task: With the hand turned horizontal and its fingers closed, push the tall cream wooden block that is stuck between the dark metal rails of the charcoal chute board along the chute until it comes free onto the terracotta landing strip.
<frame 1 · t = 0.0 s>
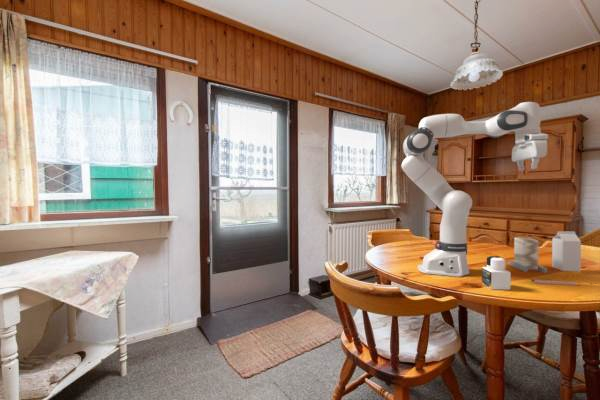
hand: (527, 169, 124), 48 cm above the table, tool pointing down, fingers open, 8 cm apart
chute: (535, 274, 125), on the table
block: (525, 253, 133), point 8 cm above the table, slide at 0.0 cm
milk carton: (565, 271, 130), on the table
medicine bottle: (495, 287, 110), on the table
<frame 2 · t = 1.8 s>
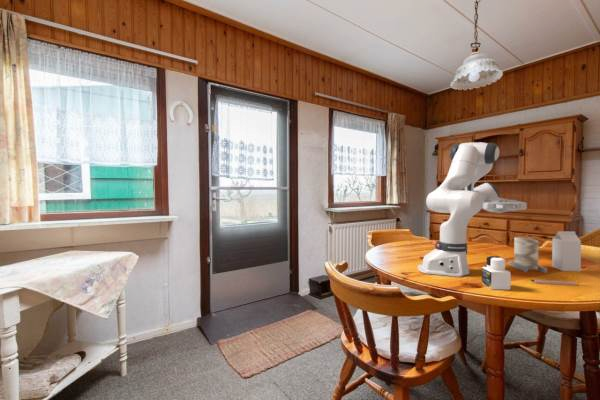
hand: (510, 206, 146), 30 cm above the table, tool horizontal, fingers open, 5 cm apart
nothing on the table moved.
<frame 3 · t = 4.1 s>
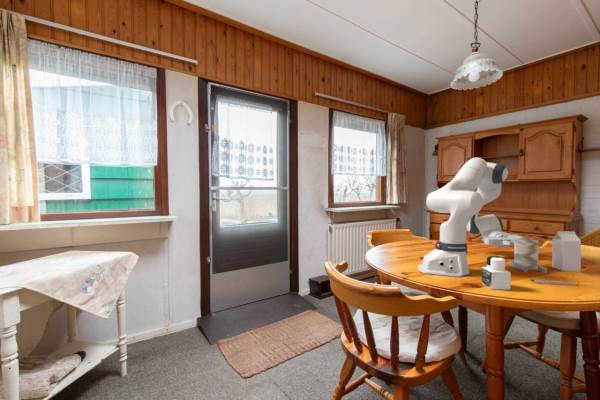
hand: (512, 243, 145), 10 cm above the table, tool horizontal, fingers closed
nothing on the table moved.
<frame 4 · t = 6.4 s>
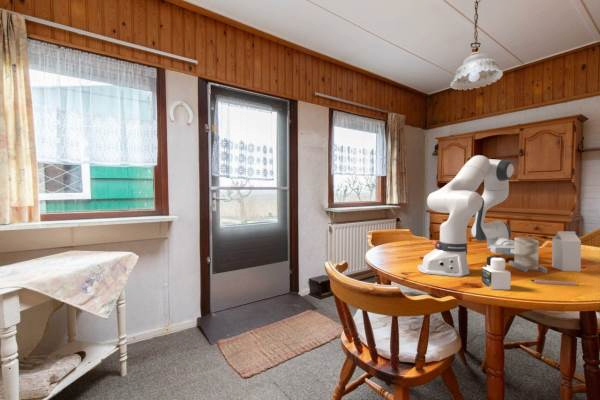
hand: (521, 252, 137), 7 cm above the table, tool horizontal, fingers closed, pressing on block
block: (526, 253, 133), point 8 cm above the table, slide at 0.2 cm, touching gripper
everything else where it was.
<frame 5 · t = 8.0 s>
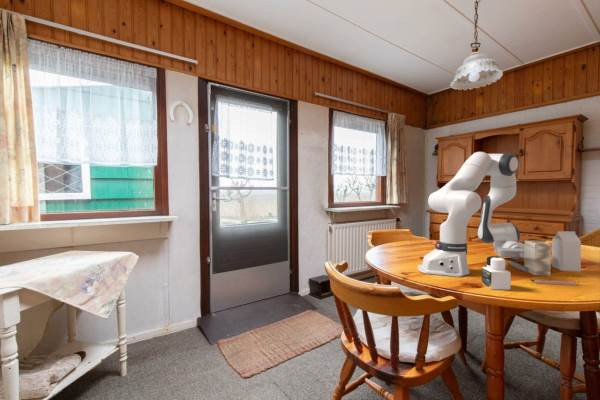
hand: (531, 256, 128), 7 cm above the table, tool horizontal, fingers closed, pressing on block
block: (536, 257, 124), point 8 cm above the table, slide at 8.7 cm, touching gripper
everything else where it was.
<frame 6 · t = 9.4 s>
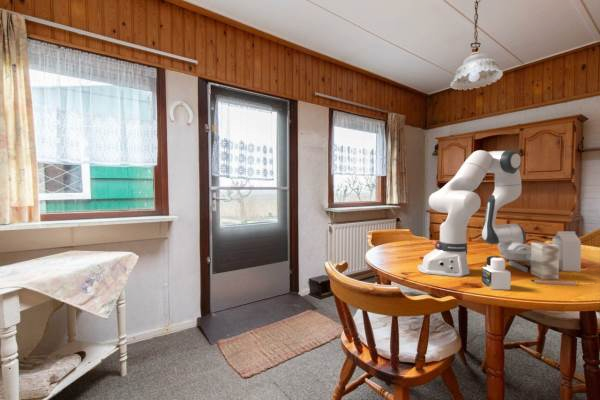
hand: (538, 259, 123), 7 cm above the table, tool horizontal, fingers closed, pressing on block
block: (544, 260, 119), point 8 cm above the table, slide at 13.8 cm, touching gripper
everything else where it was.
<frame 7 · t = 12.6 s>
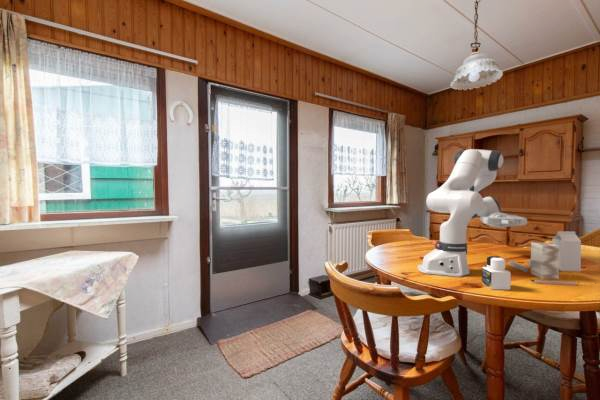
hand: (511, 222, 145), 22 cm above the table, tool horizontal, fingers closed
block: (544, 260, 119), point 8 cm above the table, slide at 13.9 cm
everything else where it was.
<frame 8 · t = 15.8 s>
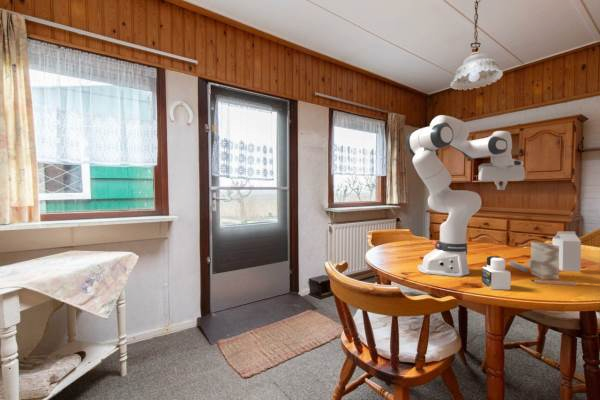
hand: (500, 189, 142), 39 cm above the table, tool pointing down, fingers closed
nothing on the table moved.
at the end: block slide at 13.9 cm; the gripper is holding nothing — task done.
